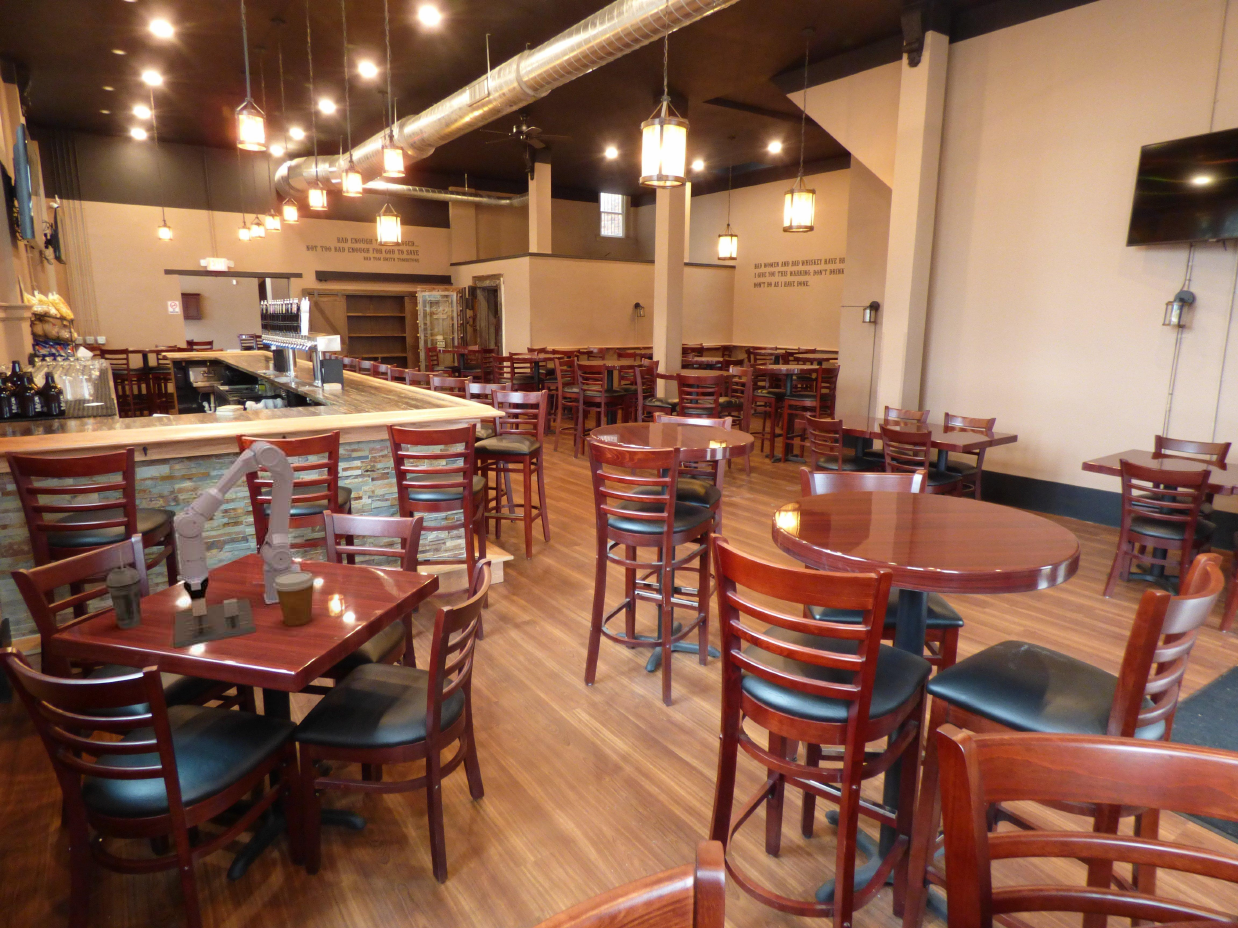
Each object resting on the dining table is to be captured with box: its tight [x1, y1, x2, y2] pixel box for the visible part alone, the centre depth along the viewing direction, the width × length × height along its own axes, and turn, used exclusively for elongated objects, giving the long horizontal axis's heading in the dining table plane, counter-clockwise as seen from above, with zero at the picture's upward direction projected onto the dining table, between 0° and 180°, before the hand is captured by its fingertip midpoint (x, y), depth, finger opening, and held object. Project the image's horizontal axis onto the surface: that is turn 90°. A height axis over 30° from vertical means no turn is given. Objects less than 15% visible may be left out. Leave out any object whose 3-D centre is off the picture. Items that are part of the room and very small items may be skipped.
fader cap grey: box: [222, 598, 239, 618], centre depth 181 cm, size 3×2×4 cm, turn 121°
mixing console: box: [174, 598, 256, 649], centre depth 179 cm, size 17×21×2 cm
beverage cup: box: [105, 548, 142, 630], centre depth 177 cm, size 7×7×20 cm
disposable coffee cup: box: [274, 570, 316, 627], centre depth 180 cm, size 10×10×12 cm
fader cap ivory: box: [190, 597, 207, 617], centre depth 181 cm, size 3×2×4 cm, turn 121°
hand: (199, 607), depth 184 cm, fingers closed
